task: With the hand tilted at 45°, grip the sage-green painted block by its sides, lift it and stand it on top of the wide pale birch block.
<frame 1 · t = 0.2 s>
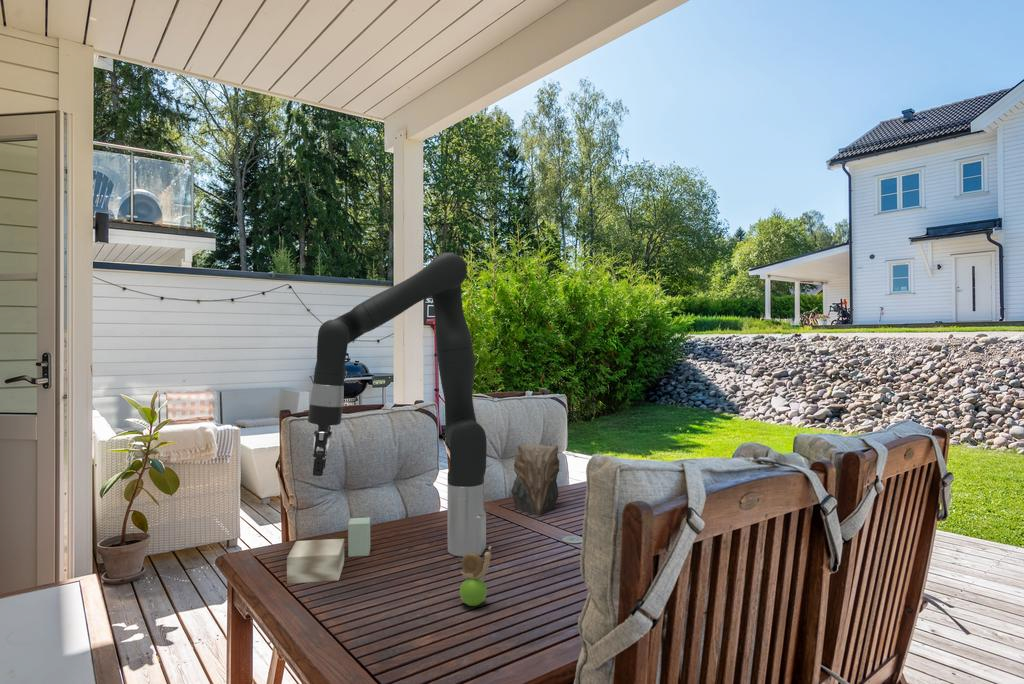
hand: (318, 472, 142), 22 cm above the table, tool pointing down, fingers open, 8 cm apart
owl: (535, 510, 189), on the table
sage block: (359, 552, 151), on the table
birch block: (316, 573, 138), on the table
snail figurine: (475, 606, 121), on the table
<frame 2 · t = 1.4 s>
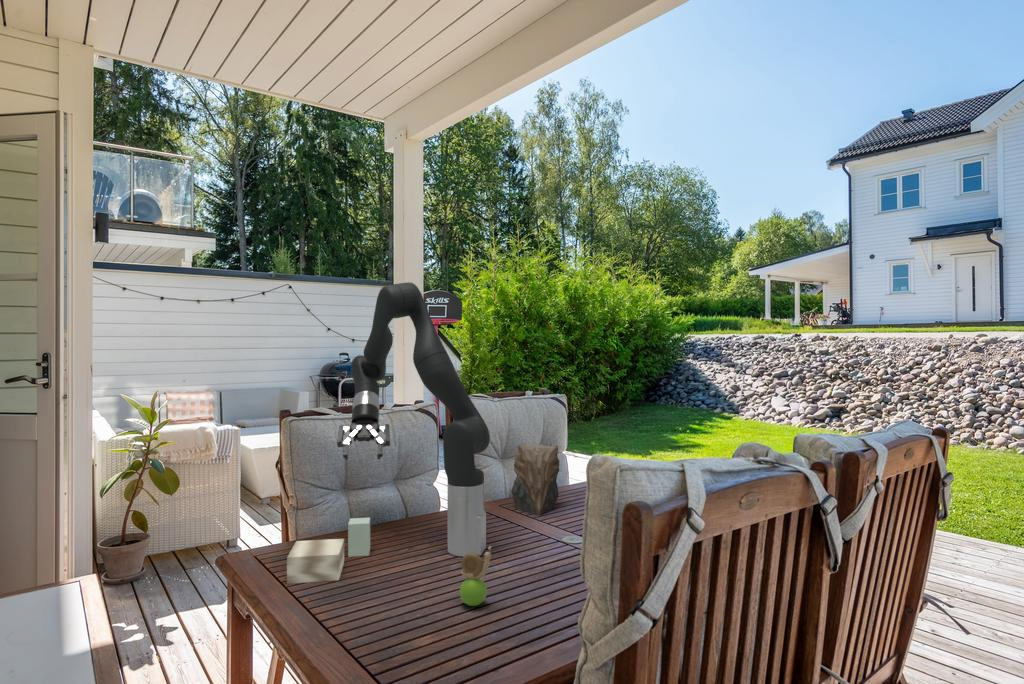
hand: (362, 457, 162), 22 cm above the table, tool tilted 45°, fingers open, 8 cm apart
nothing on the table moved.
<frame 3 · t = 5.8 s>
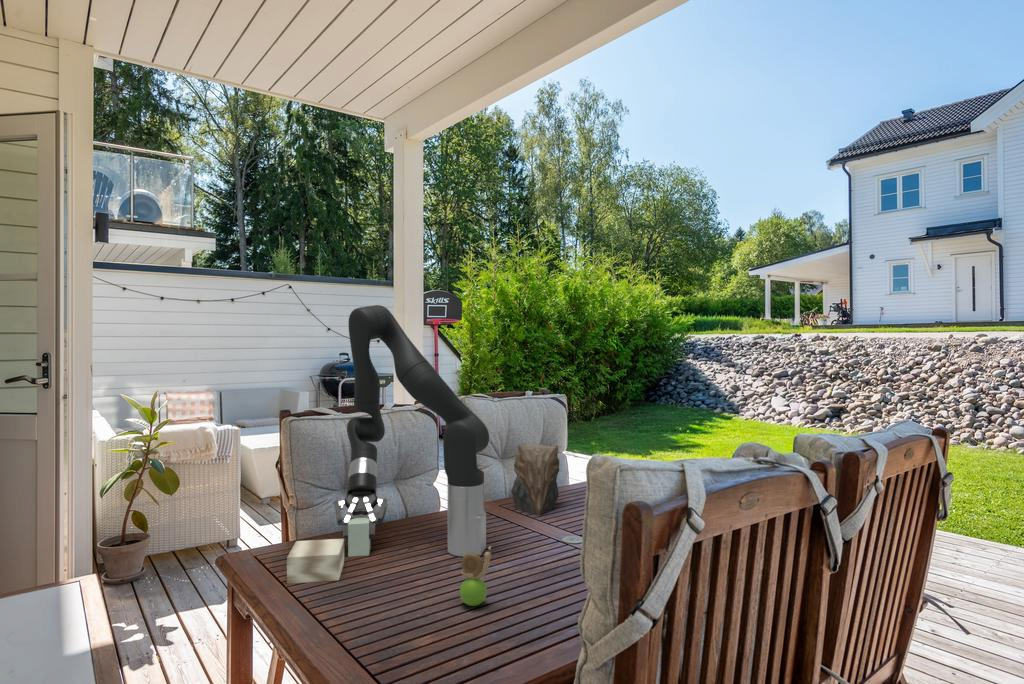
hand: (358, 538, 149), 4 cm above the table, tool tilted 45°, fingers closed on sage block, 5 cm apart
sage block: (359, 552, 151), on the table, touching gripper
everything else where it was.
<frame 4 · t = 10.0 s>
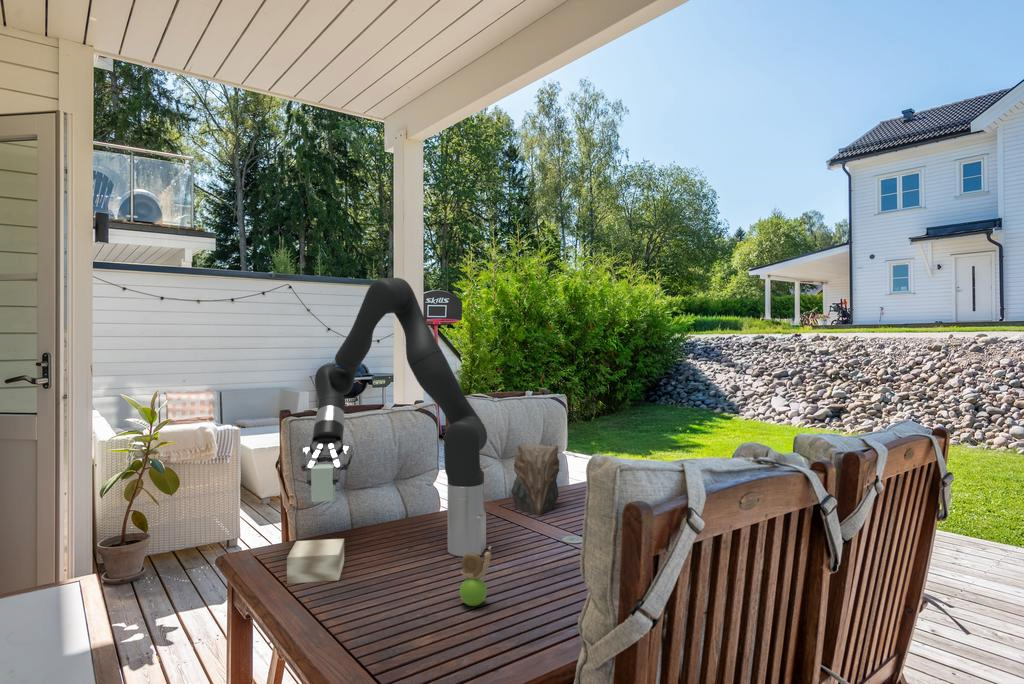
hand: (322, 483, 146), 18 cm above the table, tool tilted 45°, fingers closed on sage block, 5 cm apart
sage block: (323, 498, 148), point 14 cm above the table, touching gripper
everything else where it was.
when the fingers open (10 cm above the table, at t = 14.1 s): sage block stays where it is, resting on birch block.
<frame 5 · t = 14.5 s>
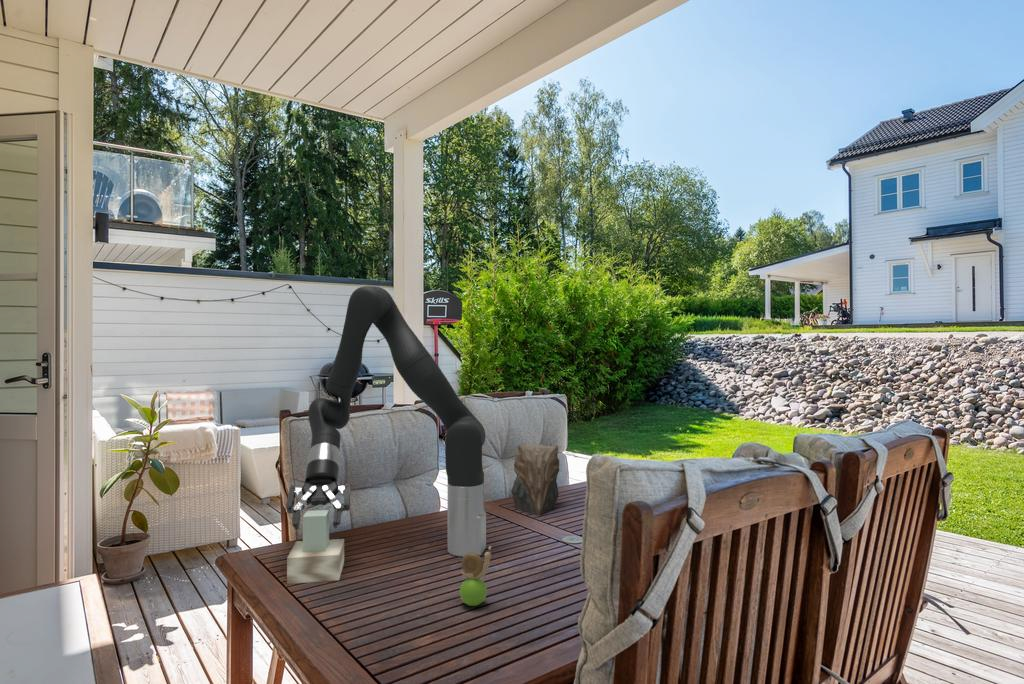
hand: (315, 527, 137), 11 cm above the table, tool tilted 45°, fingers open, 8 cm apart
sage block: (316, 548, 138), point 6 cm above the table, touching birch block
birch block: (316, 574, 138), on the table, touching sage block
everything else where it was.
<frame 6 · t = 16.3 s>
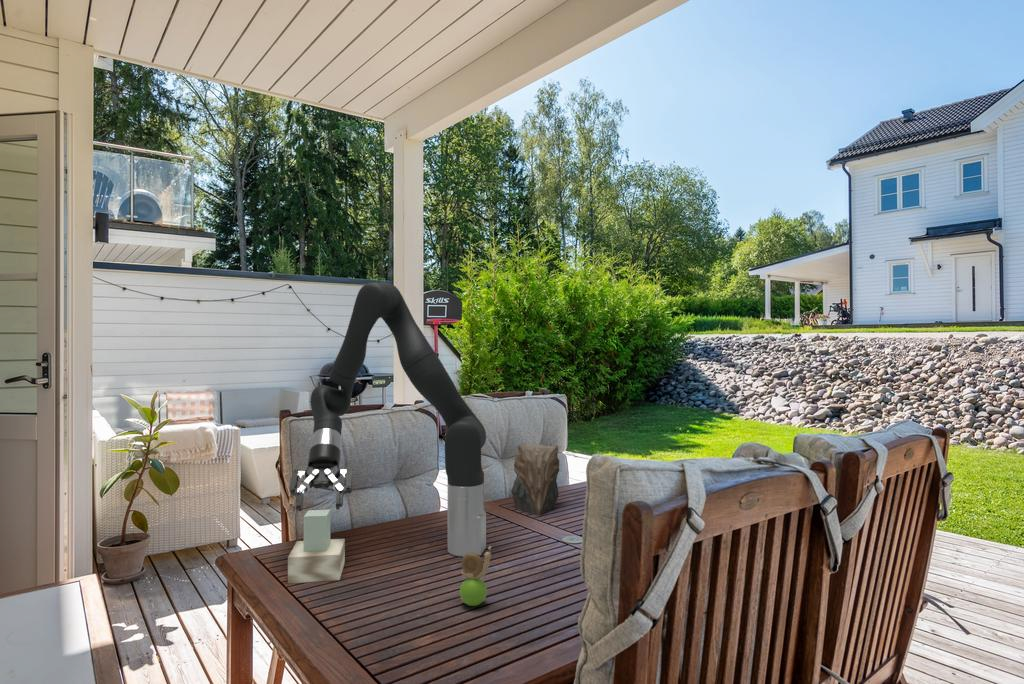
hand: (318, 508, 141), 14 cm above the table, tool tilted 45°, fingers open, 8 cm apart
nothing on the table moved.
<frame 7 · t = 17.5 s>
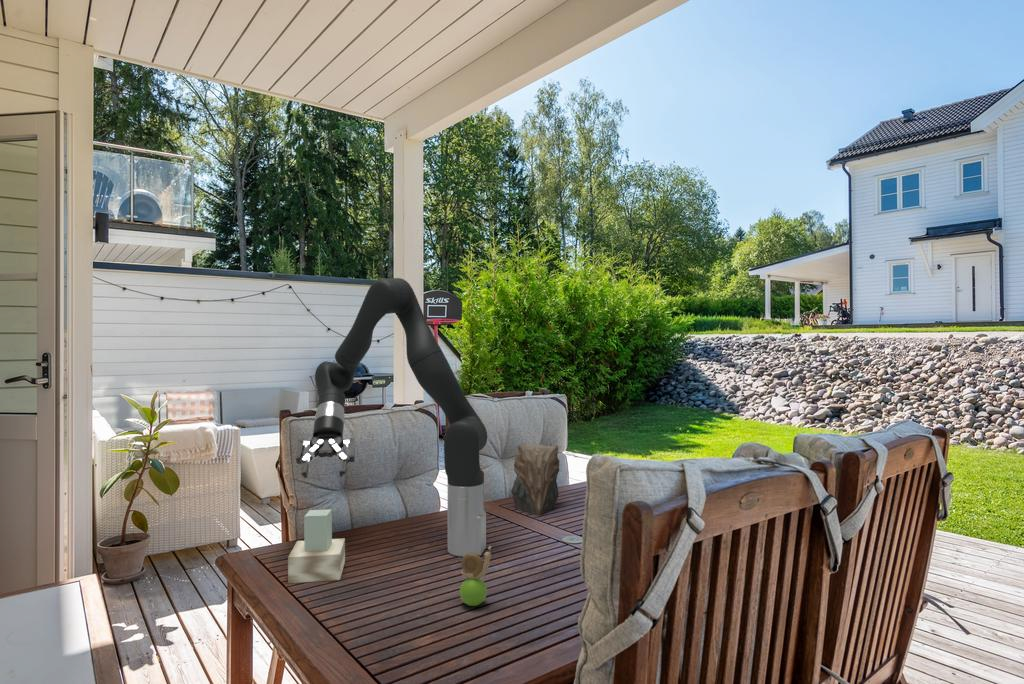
hand: (323, 475, 148), 20 cm above the table, tool tilted 45°, fingers open, 8 cm apart
sage block: (318, 547, 138), point 6 cm above the table
birch block: (317, 573, 138), on the table
everything else where it was.
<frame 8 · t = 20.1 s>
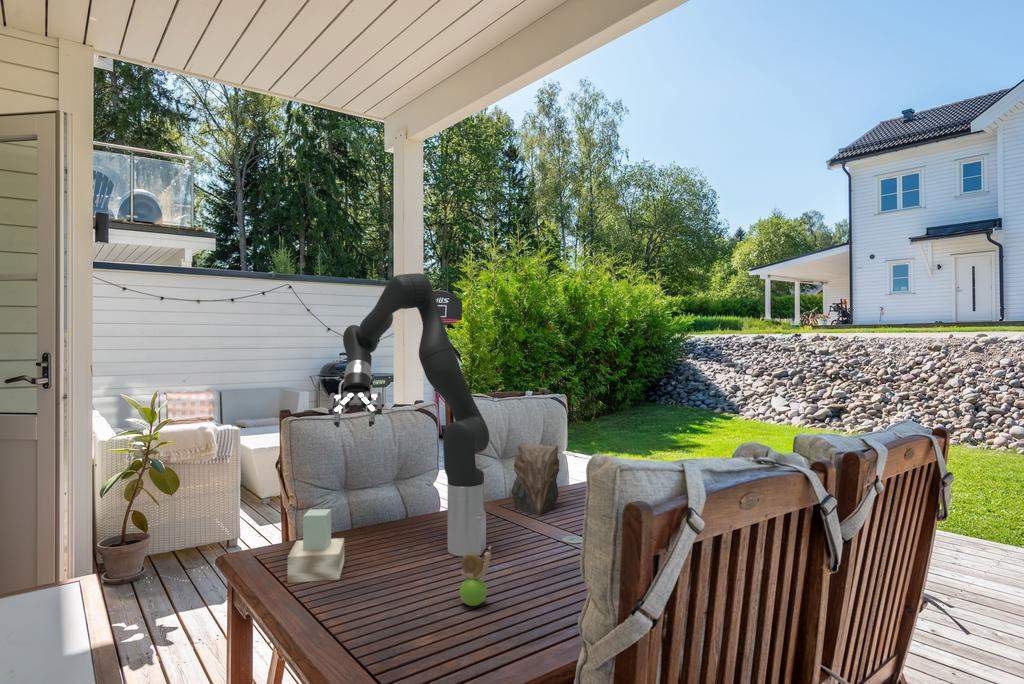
hand: (354, 425, 161), 31 cm above the table, tool tilted 45°, fingers open, 8 cm apart
sage block: (317, 547, 138), point 6 cm above the table, touching birch block
birch block: (317, 573, 139), on the table, touching sage block
everything else where it was.
at the end: sage block inside the target area on the birch block (0.1 cm from its centre), point 6.0 cm above the birch block's base; sage block tilted 0°; the gripper is holding nothing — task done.
